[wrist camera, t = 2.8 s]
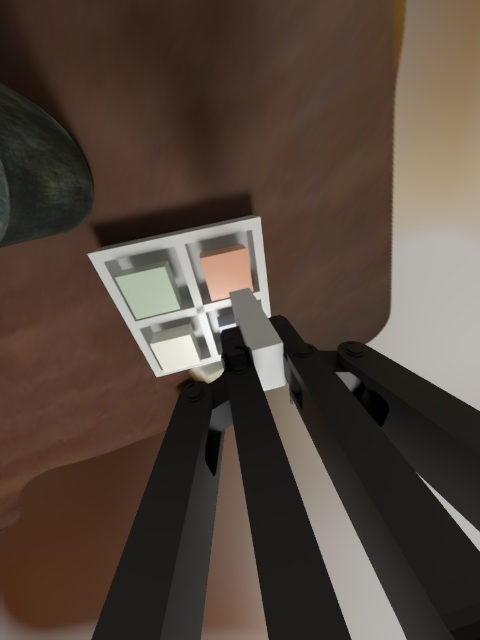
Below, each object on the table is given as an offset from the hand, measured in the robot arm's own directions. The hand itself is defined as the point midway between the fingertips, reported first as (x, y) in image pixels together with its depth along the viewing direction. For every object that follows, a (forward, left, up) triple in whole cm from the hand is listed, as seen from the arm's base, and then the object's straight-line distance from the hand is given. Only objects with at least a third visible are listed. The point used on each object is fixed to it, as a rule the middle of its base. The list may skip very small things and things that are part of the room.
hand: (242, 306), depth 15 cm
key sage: (-8, 0, -10) cm, 13 cm away
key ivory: (-8, -8, -10) cm, 15 cm away
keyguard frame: (-4, -4, -12) cm, 14 cm away
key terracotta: (0, 0, -10) cm, 10 cm away
